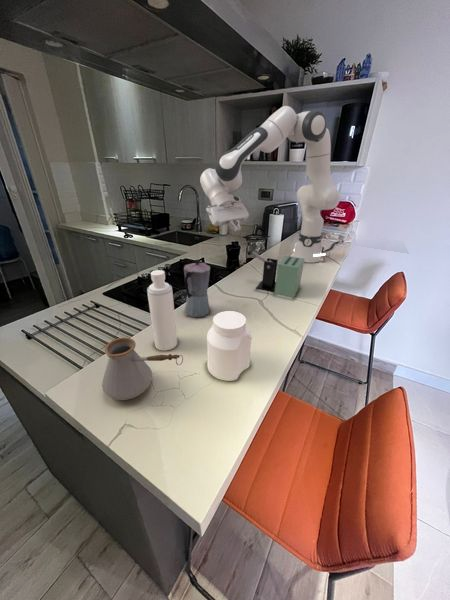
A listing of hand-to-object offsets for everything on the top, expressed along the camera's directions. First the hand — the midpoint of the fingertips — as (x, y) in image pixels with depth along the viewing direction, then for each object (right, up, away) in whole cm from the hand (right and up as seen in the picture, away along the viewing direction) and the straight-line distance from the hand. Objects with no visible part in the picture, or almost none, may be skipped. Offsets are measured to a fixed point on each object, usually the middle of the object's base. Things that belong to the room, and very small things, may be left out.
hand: (238, 230), depth 111 cm
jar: (-5, -48, -41) cm, 63 cm away
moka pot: (-16, -35, -16) cm, 42 cm away
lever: (+9, -13, -1) cm, 16 cm away
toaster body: (+21, -27, -1) cm, 34 cm away
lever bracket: (+13, -25, +2) cm, 28 cm away
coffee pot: (-25, -53, -49) cm, 76 cm away
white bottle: (-24, -44, -33) cm, 60 cm away
